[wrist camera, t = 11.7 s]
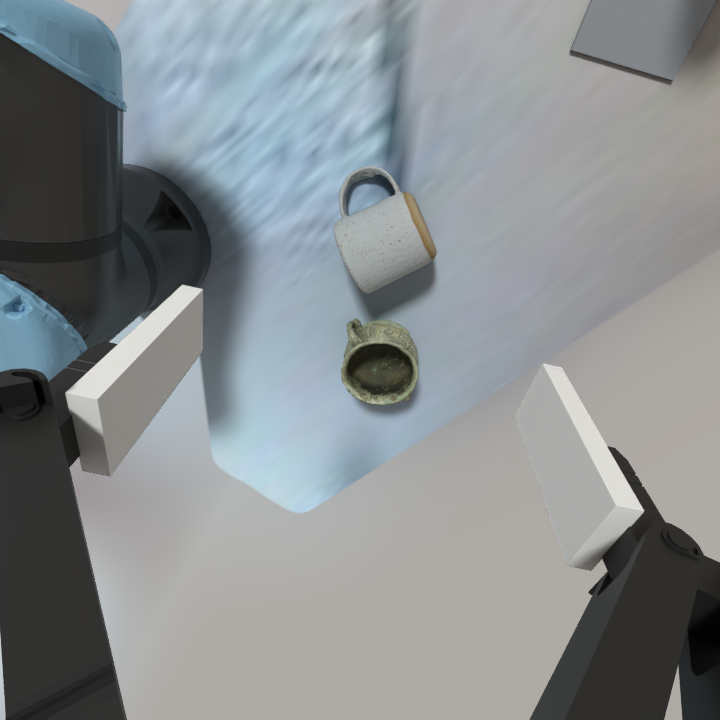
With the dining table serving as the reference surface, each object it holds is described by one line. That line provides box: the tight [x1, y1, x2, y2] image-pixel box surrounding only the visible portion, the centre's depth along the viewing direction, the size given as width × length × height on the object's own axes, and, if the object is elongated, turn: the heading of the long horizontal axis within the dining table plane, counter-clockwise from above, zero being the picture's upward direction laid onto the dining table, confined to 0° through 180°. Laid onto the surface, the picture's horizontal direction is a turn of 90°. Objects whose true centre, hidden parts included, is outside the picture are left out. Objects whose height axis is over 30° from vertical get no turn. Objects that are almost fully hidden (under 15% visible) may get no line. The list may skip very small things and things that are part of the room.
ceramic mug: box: [334, 166, 437, 294], centre depth 41 cm, size 11×8×8 cm
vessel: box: [341, 319, 418, 405], centre depth 50 cm, size 12×9×6 cm
